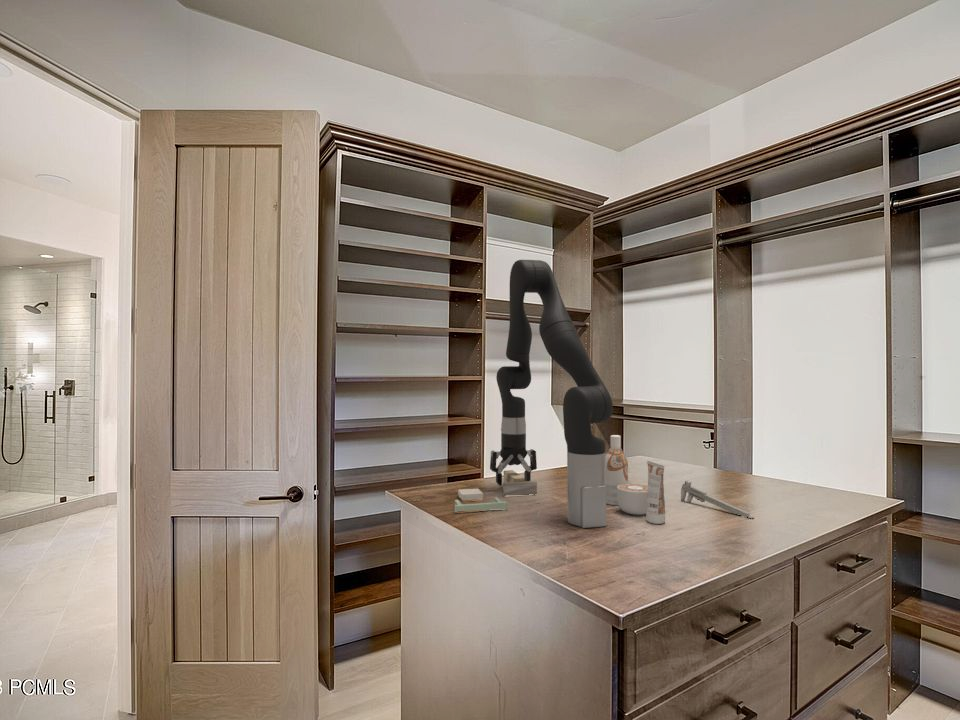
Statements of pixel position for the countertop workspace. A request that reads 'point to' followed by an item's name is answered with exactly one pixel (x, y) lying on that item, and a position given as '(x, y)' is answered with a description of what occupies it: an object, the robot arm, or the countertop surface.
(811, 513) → the countertop surface
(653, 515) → the cosmetic set
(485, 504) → the tile stop
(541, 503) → the countertop surface
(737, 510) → the caliper
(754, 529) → the countertop surface
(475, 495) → the tile
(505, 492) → the grey rectangular block
